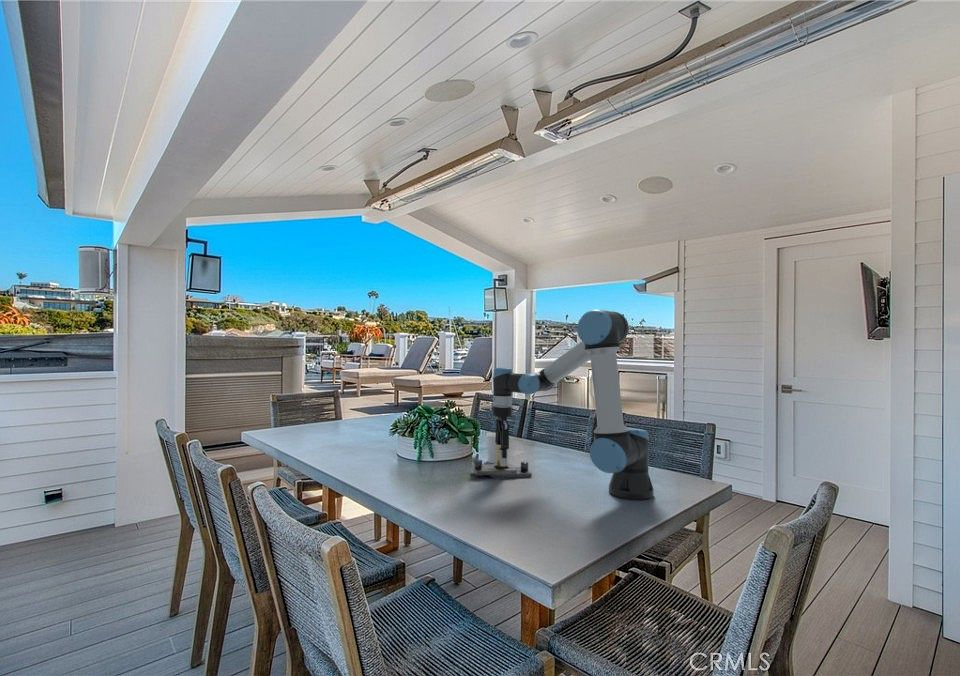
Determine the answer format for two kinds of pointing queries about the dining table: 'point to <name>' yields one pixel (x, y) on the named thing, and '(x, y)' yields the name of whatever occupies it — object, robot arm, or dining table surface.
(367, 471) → the dining table surface
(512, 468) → the toggle switch plate
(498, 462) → the toggle switch lever
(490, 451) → the candle holder
